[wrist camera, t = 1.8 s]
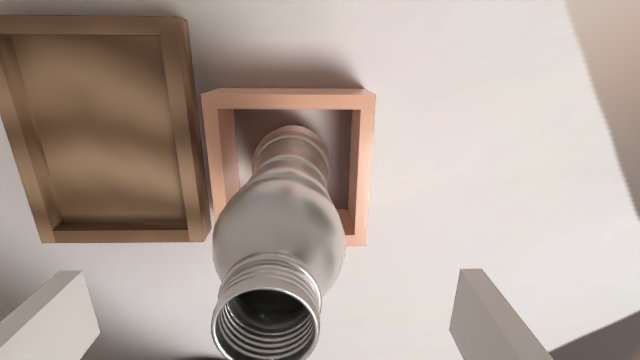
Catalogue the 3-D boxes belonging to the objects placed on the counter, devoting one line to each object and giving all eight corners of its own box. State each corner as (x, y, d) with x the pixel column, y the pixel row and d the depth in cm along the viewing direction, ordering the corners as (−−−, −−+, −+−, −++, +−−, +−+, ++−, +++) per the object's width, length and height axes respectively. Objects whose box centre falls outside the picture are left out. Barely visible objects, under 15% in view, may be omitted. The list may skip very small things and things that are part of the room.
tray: (211, 228, 32) (203, 242, 29) (61, 229, 31) (41, 243, 29) (187, 20, 26) (174, 16, 23) (-1, 18, 25) (-32, 14, 23)
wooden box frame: (358, 218, 32) (366, 245, 27) (231, 218, 32) (217, 247, 27) (364, 88, 28) (375, 94, 23) (219, 87, 27) (200, 94, 23)
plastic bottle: (330, 119, 28) (368, 237, 10) (330, 192, 31) (360, 401, 12) (254, 120, 28) (145, 242, 10) (260, 193, 31) (181, 407, 12)
